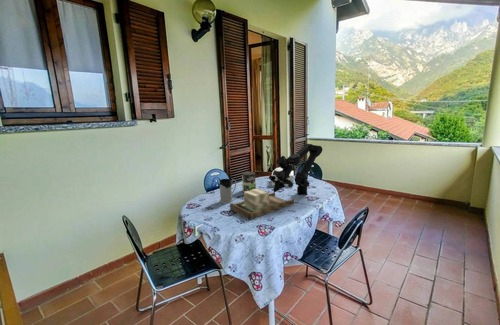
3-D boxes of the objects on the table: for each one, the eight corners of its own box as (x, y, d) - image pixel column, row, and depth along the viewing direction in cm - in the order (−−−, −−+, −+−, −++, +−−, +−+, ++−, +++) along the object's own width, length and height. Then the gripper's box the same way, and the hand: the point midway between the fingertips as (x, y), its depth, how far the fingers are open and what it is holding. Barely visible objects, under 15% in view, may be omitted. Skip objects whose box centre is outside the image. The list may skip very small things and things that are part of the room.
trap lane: (273, 196, 176) (273, 190, 176) (294, 203, 161) (294, 197, 160) (230, 209, 155) (230, 203, 155) (249, 219, 140) (248, 213, 139)
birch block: (258, 201, 162) (257, 188, 160) (269, 205, 153) (268, 192, 152) (244, 205, 156) (243, 191, 154) (255, 210, 147) (254, 196, 145)
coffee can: (258, 191, 189) (257, 173, 186) (246, 193, 185) (245, 175, 182) (252, 187, 198) (251, 170, 195) (240, 190, 194) (239, 172, 191)
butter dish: (271, 186, 201) (271, 167, 198) (273, 180, 218) (272, 162, 215) (293, 186, 198) (293, 167, 195) (293, 180, 216) (293, 162, 212)
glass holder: (217, 201, 171) (216, 180, 168) (232, 196, 181) (231, 176, 178) (225, 204, 165) (224, 182, 162) (240, 198, 175) (239, 178, 172)
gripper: (270, 163, 169) (258, 182, 165) (289, 167, 154) (277, 188, 150) (278, 172, 175) (267, 191, 171) (298, 177, 160) (286, 197, 156)
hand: (274, 191), depth 162 cm, fingers closed
